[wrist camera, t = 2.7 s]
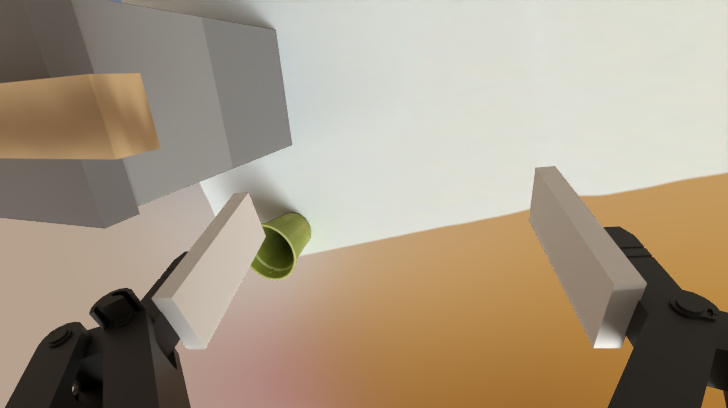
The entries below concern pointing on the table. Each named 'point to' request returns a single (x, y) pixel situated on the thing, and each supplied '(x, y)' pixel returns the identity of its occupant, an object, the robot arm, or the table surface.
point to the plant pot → (281, 246)
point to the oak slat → (76, 118)
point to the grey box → (165, 98)
